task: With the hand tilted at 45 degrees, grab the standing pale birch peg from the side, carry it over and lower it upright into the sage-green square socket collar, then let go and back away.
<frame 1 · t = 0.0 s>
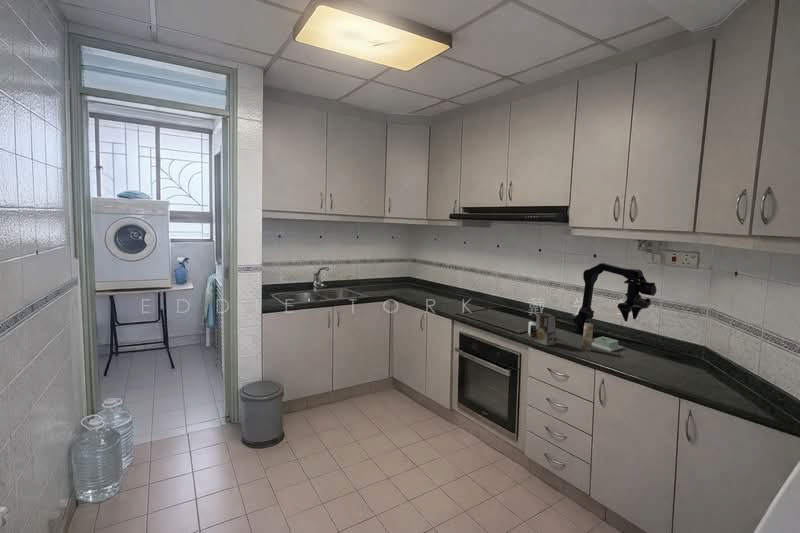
hand: (630, 320, 219), 15 cm above the table, tool pointing down, fingers open, 9 cm apart
coffee box: (544, 343, 222), on the table
medicine bottle: (535, 335, 236), on the table
birch peg: (586, 349, 213), on the table
socket collar: (605, 346, 218), on the table
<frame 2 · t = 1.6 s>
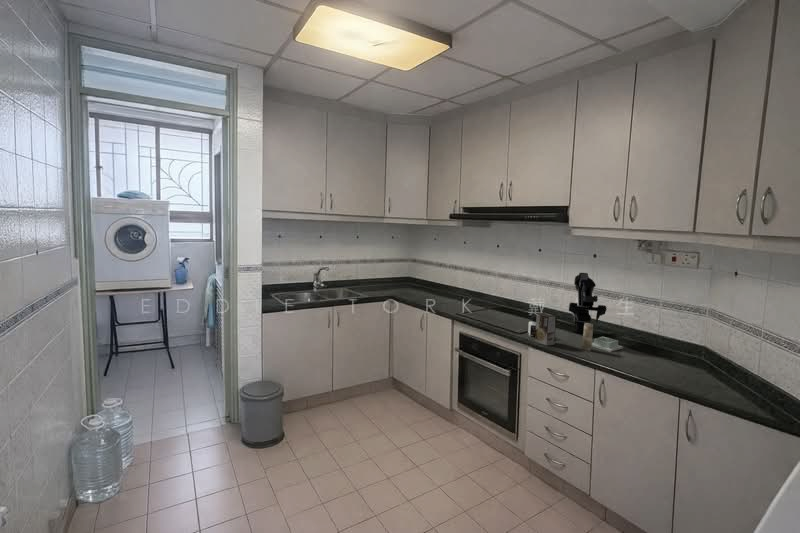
hand: (587, 321, 218), 13 cm above the table, tool tilted 45°, fingers open, 9 cm apart
nothing on the table moved.
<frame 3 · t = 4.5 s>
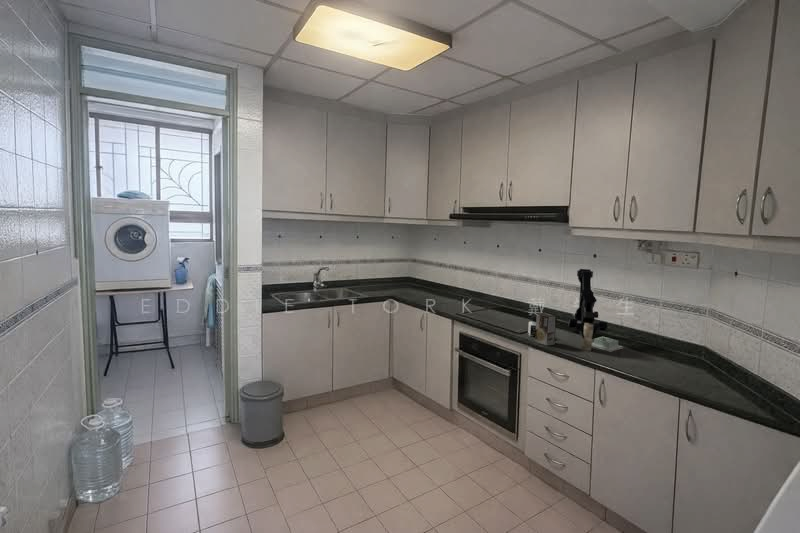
hand: (587, 338, 210), 7 cm above the table, tool tilted 45°, fingers closed on birch peg, 4 cm apart
birch peg: (586, 349, 213), on the table, touching gripper
everything else where it was.
when the fingers open (9 cm above the table, at t = 9.7 s): birch peg drops 1 cm, resting on socket collar.
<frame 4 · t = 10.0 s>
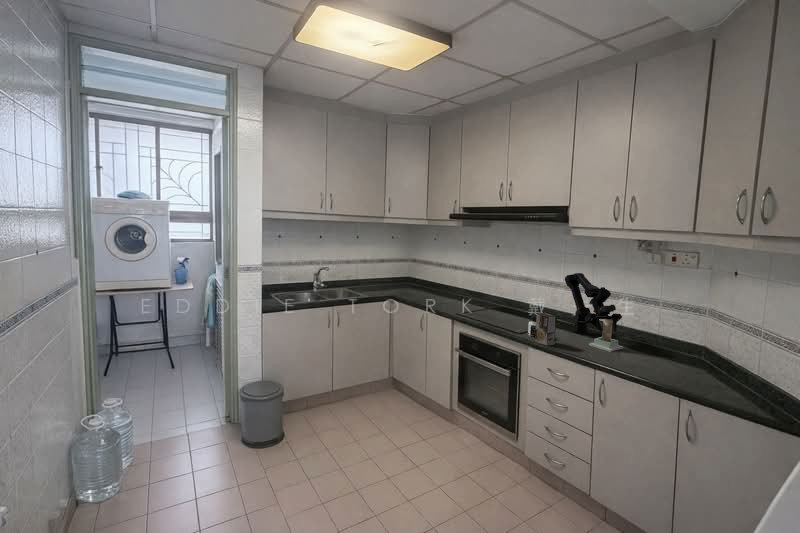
hand: (608, 331, 216), 9 cm above the table, tool tilted 45°, fingers open, 8 cm apart
birch peg: (605, 344, 218), point 1 cm above the table, touching socket collar
everything else where it was.
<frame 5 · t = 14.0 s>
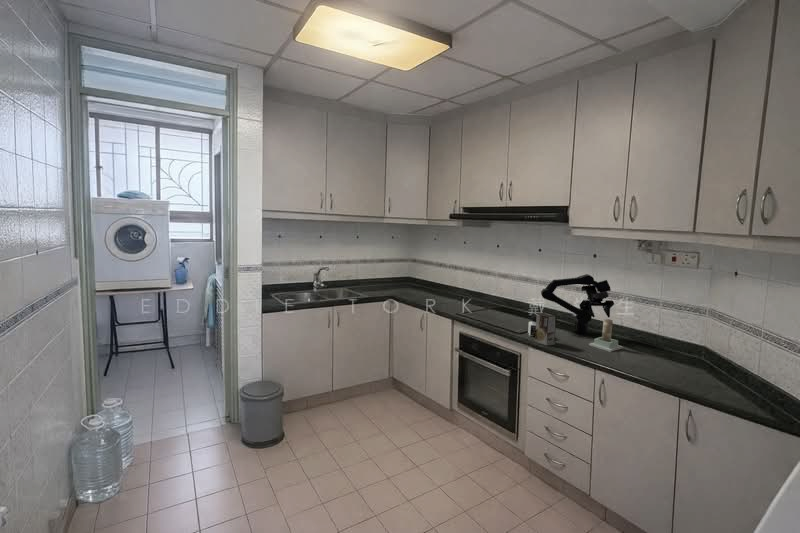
hand: (601, 317, 228), 14 cm above the table, tool tilted 45°, fingers open, 9 cm apart
nothing on the table moved.
at the end: birch peg 0.0 cm off-centre on the socket collar, point 1.0 cm above the socket collar's base; birch peg tilted 0°; the gripper is holding nothing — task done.
